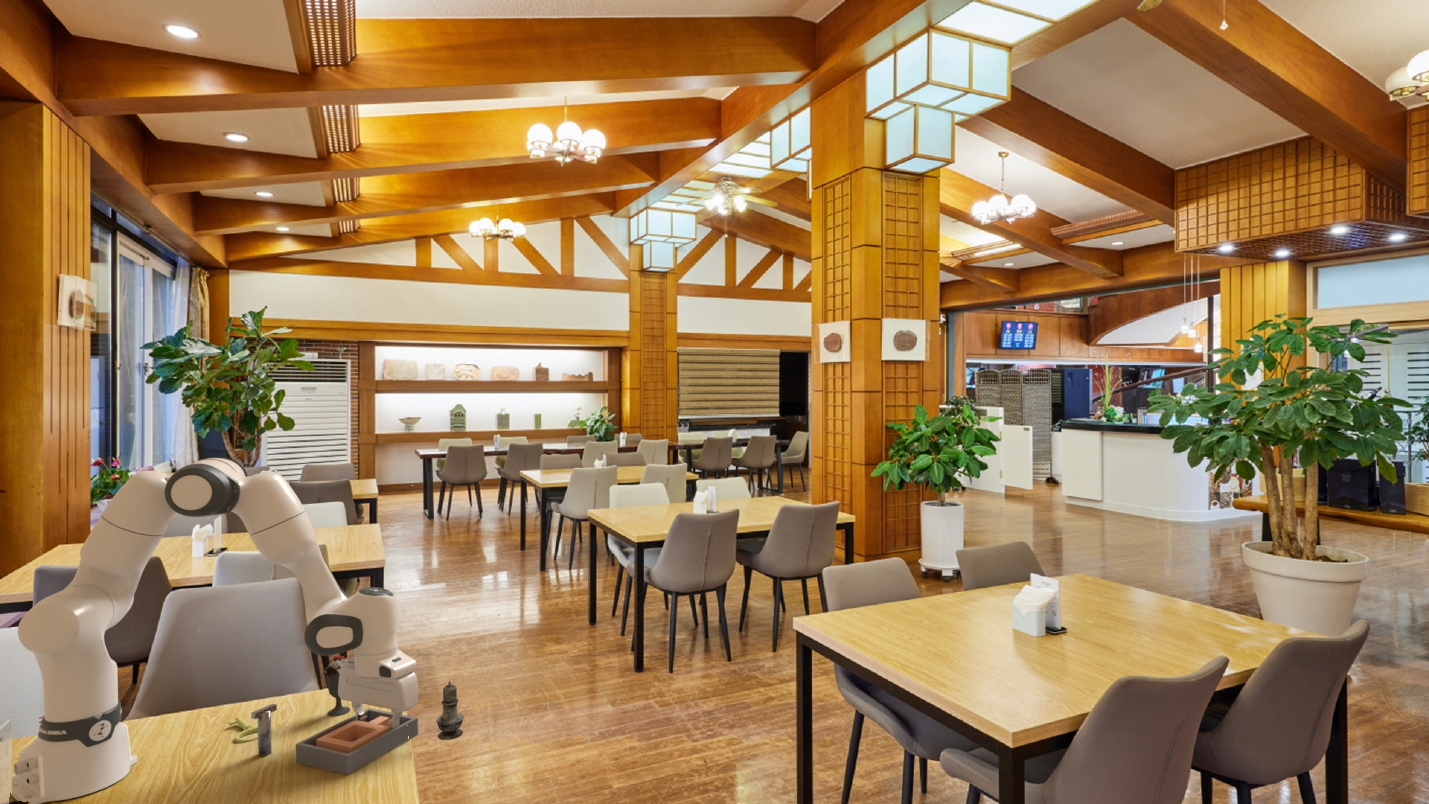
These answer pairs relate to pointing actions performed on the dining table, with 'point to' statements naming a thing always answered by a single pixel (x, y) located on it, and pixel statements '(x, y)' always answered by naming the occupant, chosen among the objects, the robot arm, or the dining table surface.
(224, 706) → the dining table surface
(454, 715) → the salt shaker
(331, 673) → the sundae
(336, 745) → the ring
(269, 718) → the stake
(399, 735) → the tray
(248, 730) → the key
